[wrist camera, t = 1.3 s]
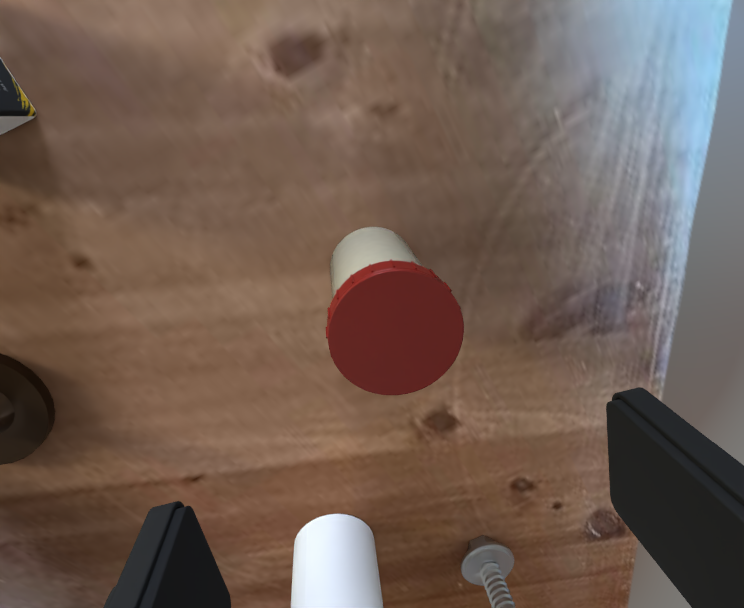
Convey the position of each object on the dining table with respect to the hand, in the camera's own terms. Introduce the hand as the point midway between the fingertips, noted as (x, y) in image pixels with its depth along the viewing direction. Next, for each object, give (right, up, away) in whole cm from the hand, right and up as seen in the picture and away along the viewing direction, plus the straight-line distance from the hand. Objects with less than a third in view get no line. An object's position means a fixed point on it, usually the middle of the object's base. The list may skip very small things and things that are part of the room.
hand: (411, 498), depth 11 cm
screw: (+9, -18, +35) cm, 40 cm away
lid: (0, +3, +14) cm, 14 cm away
